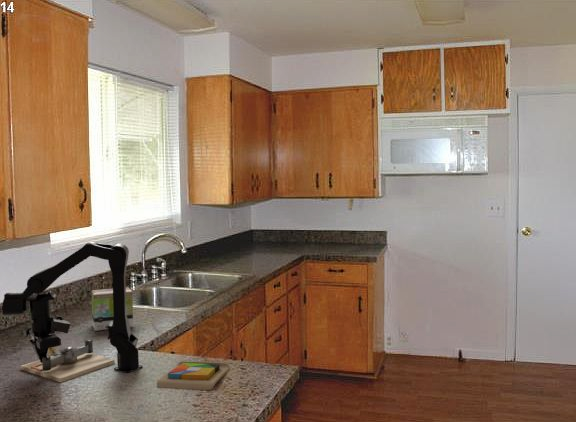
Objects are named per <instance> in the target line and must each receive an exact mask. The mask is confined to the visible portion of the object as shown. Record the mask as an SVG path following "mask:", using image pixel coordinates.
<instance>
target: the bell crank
mask: <svg viewBox="0 0 576 422" xmlns="http://www.w3.org/2000/svg"><path fill="white" fill-rule="evenodd" d="M93 346H94V344H93V339H86V340H84V344H83V345H80V346H78V347H74V346H71V345H70V346H69V345H68V346H64V347H63V348H62V349H60V350H59V352H56V351H57V348H56V347H51V348H48V352H47V356H43V357H42V366H43V371H48V370H51V367H54V366H56V365H58V364H72V363H75V362H77V357H78V356H80V355H83V354H85V353H92V354H93V353H94V349H93V348H94V347H93ZM48 354H49V355H48ZM51 356H55V357H52V358H51Z"/></svg>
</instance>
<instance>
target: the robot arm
mask: <svg viewBox="0 0 576 422" xmlns="http://www.w3.org/2000/svg"><path fill="white" fill-rule="evenodd" d="M129 254H130V252H129V248H128V247H127V246H126V244H123V243H116V244H109V243H108V244H107V243H97V242H94V241H88V242H87V243H85V244H84V245H83V246H82V247H81V248H79V249H78V250H76V251H75V252H73V253H72V254H70V255H68V256H67V257H66V258H64V259H63V260H61V261H60V262H58V263H56V264H55V265H52V266H50V267H48V268H45V269H43V270H41V271H39V272H36V273H35V274H33V275H32V276H30V277H29V278H28V279H27V281H26V288H25V289H24V290H23V291H22V292H17V293H15V292H6V293H4V295H3V300H2V305H1V312H2V315H3V316H24V315H25V314H26V312H29V311H30V317H29V316H28V321H29V322H30V321H31V323H30V325H26V326H25V327H24V328H23V329H22V330H23V332H22V333H23V336H24V337H25V338H27V337H28V336H30V337H31V339H30V340H28V342H29V344H30V345H31V347H32V349H33V350H34V352H35V354H36V356H37V358H38V360H40V362H41V363H42V357H43V356H48V353H47V352H48V348H51V347H55V348H56V347H60V346H62V338H60V337H59V336H57V335H56V332H58V333H63V334H68V333H69V330H70V328H71V324H72V323H70V322H69V321H67V320H65V319H63V316H61V315H58V314H57V315H55V316H54V317H53V316H52V314H51V315H50V310H51V302H50V301H54V300H55V299H56V298H57V297H58V295H57V294H55V293H54V292H53V291H52V290H49V291H48V292H47V293H44V292H45V291H46V290H47V289H48V288H49V287H50V286H51V285H53V284H54V283H55V281H57V279H59V278H60V277H61V276H63V275H64V274H65V273H68V271H71V269H73V268H74V267H76V266H78V265H80V263H82V262H84V261H85V260H87V259H89V257H94V258H97V259H102V260H106V261H107V262H108V265H109V269H110V272H111V275H112V277H111V279H112V289H113V313H114V319H113V322H112V321H110V323H109V325H108V329H107V330H108V336H107V340H109V342H110V345H112V347H114V348H115V349H116V351H117V353H116V358H117V359H116V360H117V366H115V367H114V368H113V370H115V371H118V372H122V373H127V374H128V373H132V372H133V371H136V370H139V369H142V368H143V367H144V366H143V365H142V364H139V360H140V359H139V349H138V348H137V344H138V341H139V339H138V337H136V336H135V335H134V334H133V333H132V331H131V327H130V325H129V321H128V318H127V314H126V288H127V287H126V286H127V285H126V284H127V283H126V282H127V281H126V271H127V266H128V260H129ZM33 295H36V296H33ZM29 334H30V335H29Z"/></svg>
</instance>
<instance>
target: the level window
mask: <svg viewBox="0 0 576 422" xmlns="http://www.w3.org/2000/svg"><path fill="white" fill-rule="evenodd" d="M41 365H42V363H41V364H38V365H35V366H31V368H33V369H36V370H39V371H43V369H40V368H37V367H38V366H41ZM56 366H57V365H56ZM42 367H43V366H42ZM54 367H55V366H54ZM51 368H52V367H51Z"/></svg>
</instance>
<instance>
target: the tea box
mask: <svg viewBox="0 0 576 422" xmlns="http://www.w3.org/2000/svg"><path fill="white" fill-rule="evenodd" d="M133 300H134V299H133V291H132V290H131V289H130V287H126V314H127V318H128V321H129V325H130V328H133V327H134V311H133V310H134V307H133V305H134V304H133V303H134V302H133ZM91 316H92V317H91V322H92V323H91V325H92V327H93V330H94V332H96V331H102V330H103V331H105V330H108V325H109V323H110V321H112V322H113V319H114V313H113V288H105V289H92V290H91Z"/></svg>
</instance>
